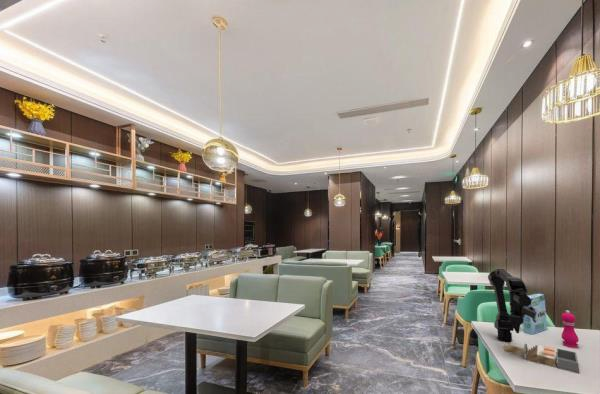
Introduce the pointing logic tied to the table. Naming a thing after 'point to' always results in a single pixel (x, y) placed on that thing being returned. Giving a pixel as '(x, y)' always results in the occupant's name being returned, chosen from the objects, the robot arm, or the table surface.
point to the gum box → (539, 321)
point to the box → (567, 360)
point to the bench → (541, 356)
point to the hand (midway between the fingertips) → (518, 330)
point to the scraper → (516, 350)
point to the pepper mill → (569, 330)
